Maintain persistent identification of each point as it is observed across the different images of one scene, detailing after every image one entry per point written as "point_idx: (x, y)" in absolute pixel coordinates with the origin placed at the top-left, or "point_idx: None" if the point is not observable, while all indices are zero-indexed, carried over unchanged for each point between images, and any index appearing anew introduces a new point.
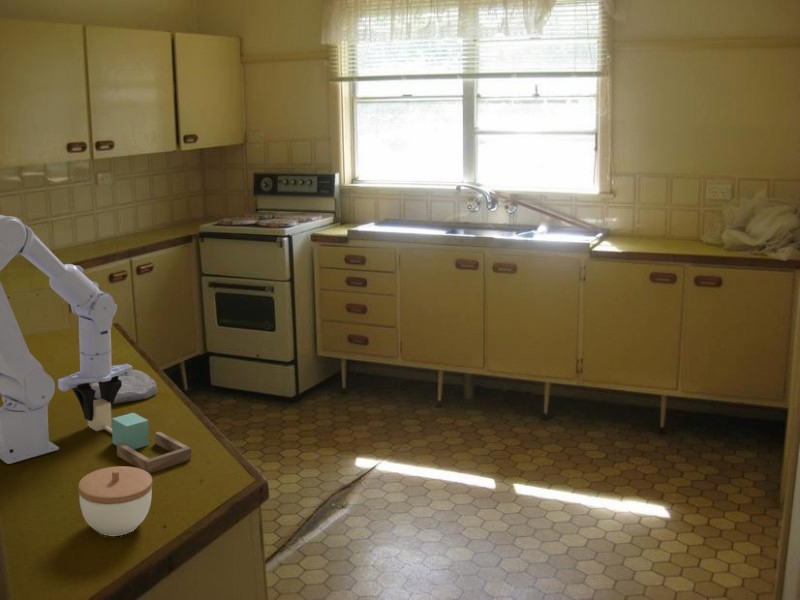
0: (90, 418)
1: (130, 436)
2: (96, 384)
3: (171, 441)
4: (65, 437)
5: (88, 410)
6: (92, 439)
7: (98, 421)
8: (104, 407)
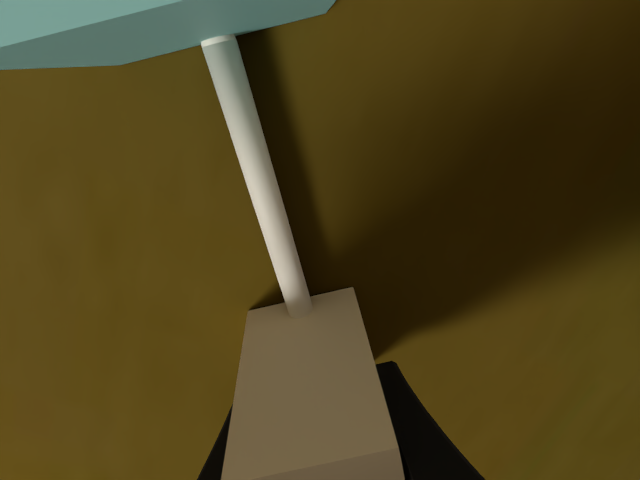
0: (397, 373)
1: None
2: None
3: None
4: (543, 273)
5: (442, 431)
6: (427, 173)
7: (347, 332)
8: (296, 439)
